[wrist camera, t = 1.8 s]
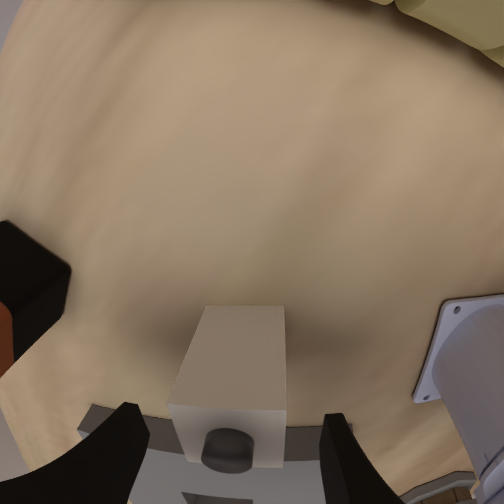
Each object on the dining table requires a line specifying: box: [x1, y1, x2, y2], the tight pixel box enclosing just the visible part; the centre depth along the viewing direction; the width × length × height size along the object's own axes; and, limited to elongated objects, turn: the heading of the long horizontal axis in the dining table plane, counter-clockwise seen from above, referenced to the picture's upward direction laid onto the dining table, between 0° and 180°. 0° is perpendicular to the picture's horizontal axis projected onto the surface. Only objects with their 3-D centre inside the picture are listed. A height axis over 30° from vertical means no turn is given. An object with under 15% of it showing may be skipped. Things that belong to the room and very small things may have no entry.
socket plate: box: [77, 405, 353, 504], centre depth 21 cm, size 20×20×4 cm
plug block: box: [166, 305, 287, 474], centre depth 12 cm, size 4×4×8 cm
